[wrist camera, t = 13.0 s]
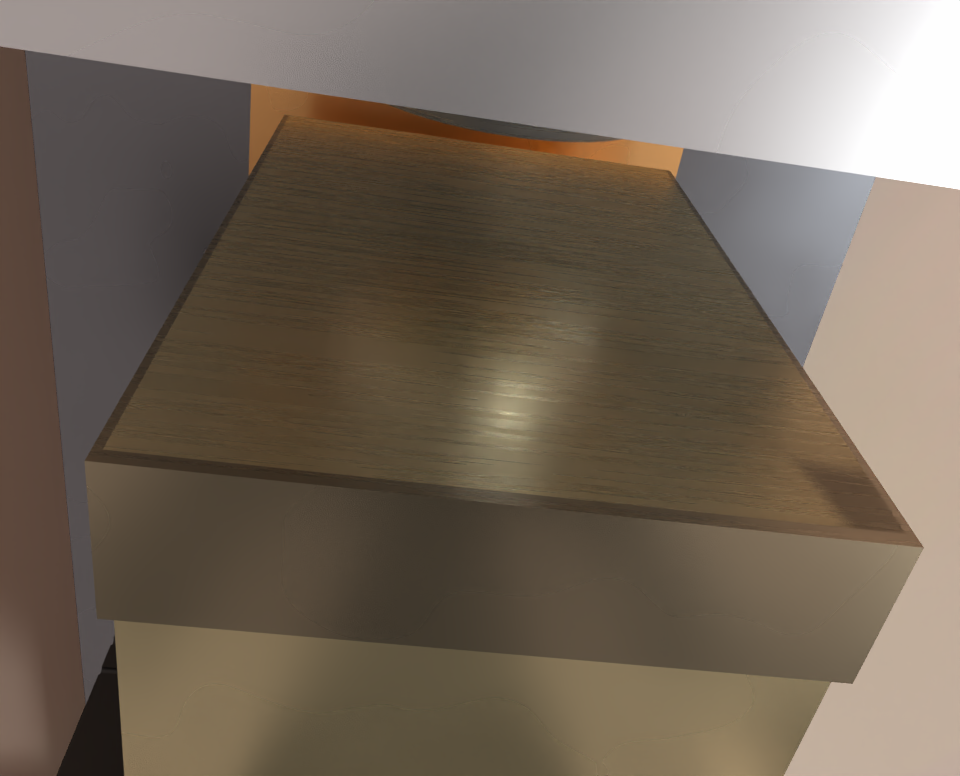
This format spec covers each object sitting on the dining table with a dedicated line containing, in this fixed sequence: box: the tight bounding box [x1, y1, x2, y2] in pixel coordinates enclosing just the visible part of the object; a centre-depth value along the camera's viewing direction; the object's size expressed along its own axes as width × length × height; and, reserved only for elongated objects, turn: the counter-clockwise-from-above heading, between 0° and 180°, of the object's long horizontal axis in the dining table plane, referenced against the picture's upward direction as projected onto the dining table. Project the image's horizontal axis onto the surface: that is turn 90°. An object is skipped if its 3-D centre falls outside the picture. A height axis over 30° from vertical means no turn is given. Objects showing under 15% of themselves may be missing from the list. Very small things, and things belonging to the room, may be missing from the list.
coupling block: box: [85, 114, 924, 776], centre depth 10 cm, size 12×4×6 cm, turn 171°
